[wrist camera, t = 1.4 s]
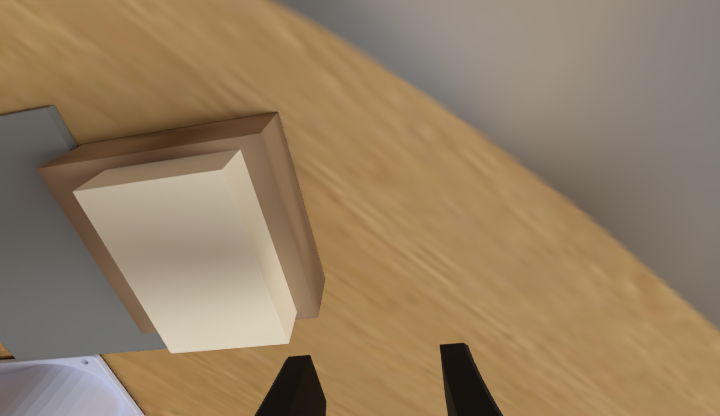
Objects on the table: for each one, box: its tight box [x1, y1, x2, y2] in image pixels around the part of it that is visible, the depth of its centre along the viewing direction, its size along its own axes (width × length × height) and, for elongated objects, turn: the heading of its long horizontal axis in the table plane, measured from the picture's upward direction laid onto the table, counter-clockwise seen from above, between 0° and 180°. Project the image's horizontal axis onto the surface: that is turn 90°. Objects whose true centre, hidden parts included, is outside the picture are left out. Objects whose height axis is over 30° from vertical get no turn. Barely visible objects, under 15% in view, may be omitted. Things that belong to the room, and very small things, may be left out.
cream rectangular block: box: [73, 149, 297, 353], centre depth 17 cm, size 6×9×2 cm, turn 10°
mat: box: [0, 105, 167, 361], centre depth 22 cm, size 13×16×1 cm
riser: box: [37, 112, 325, 334], centre depth 19 cm, size 10×10×3 cm
